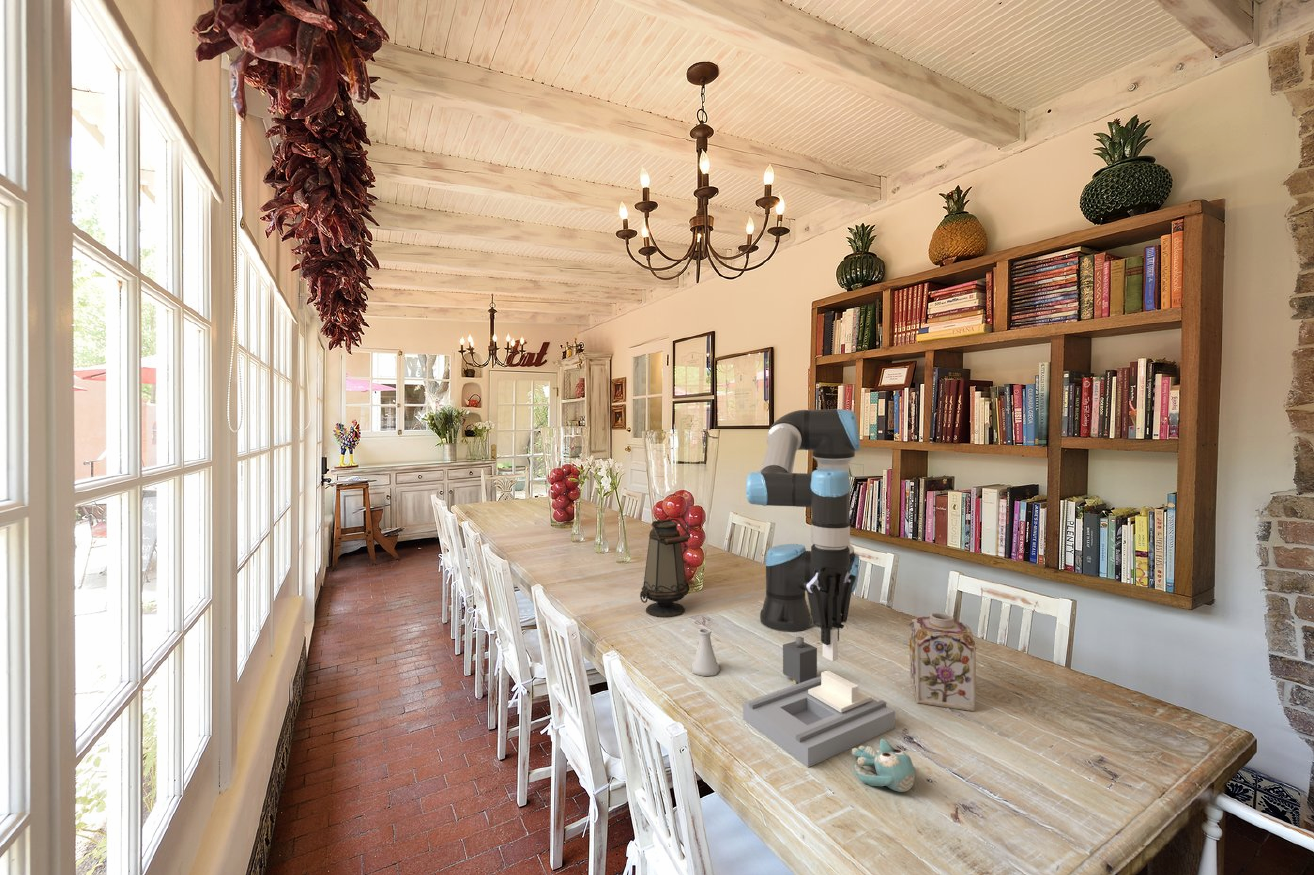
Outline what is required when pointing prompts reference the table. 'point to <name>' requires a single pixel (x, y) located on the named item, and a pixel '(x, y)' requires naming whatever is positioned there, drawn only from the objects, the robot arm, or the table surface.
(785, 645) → the plug
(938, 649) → the decorative jar
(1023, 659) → the table surface
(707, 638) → the flask
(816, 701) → the grey railed block
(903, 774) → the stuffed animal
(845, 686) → the white finned plate
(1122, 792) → the table surface
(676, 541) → the lantern
